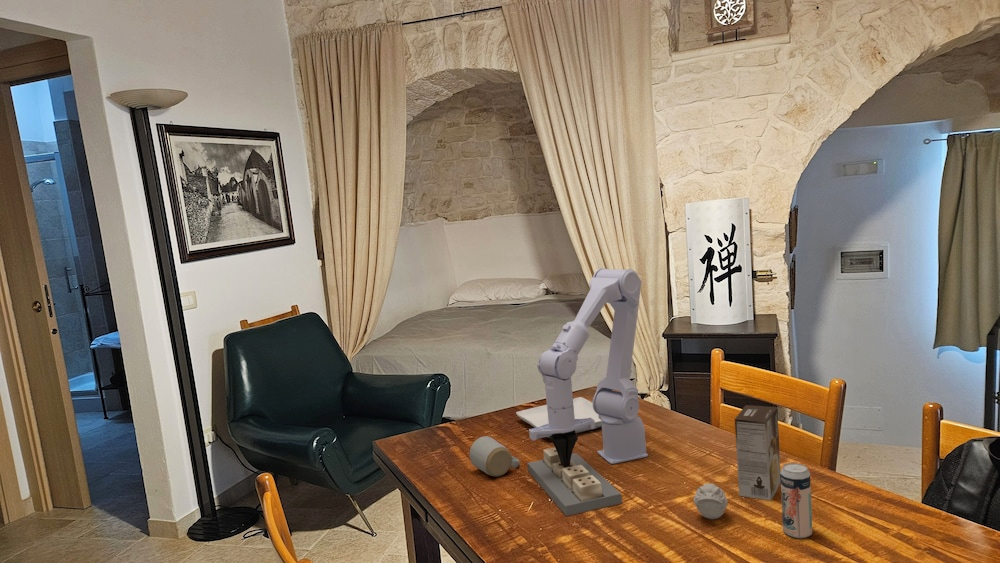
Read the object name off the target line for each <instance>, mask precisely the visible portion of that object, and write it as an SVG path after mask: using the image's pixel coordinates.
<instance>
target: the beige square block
mask: <svg viewBox="0 0 1000 563" xmlns="http://www.w3.org/2000/svg"><path fill="white" fill-rule="evenodd" d="M572 480H573V492H574V495H575V496H576V497H577V498H578V500H579V501H580V502H582V501H587V500H591V499H596V498H600V497H602V487H601V483H600V482H599V481H598V480H597V479H596V478H595V477H594V476H593V475H590V476H585V477H581V478H576V479H572Z"/></svg>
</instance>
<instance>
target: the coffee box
mask: <svg viewBox="0 0 1000 563" xmlns="http://www.w3.org/2000/svg"><path fill="white" fill-rule="evenodd" d="M778 416H779V414H778V407H776V406H763V405H751V404H749V405H744V406H743V408H742V409H741V411H740V412H739V413H738V414H737V416H736V417H735V418H734V429H735V443H736V444H735V446H736V462H737V466H736V467H737V479H738V480H737V481H738V482H737V483H738V496H740V497H744V498H750V499H751V498H752V499H759V500H764V501H770V502H771V501H772V500H773V498H775V495H776V493H777V491H778V488H779V487H780V486H781V478H780V471H781V458H780V457H781V456H780V439H779V435H780V433H779V418H778Z"/></svg>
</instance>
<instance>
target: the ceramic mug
mask: <svg viewBox="0 0 1000 563" xmlns="http://www.w3.org/2000/svg"><path fill="white" fill-rule="evenodd" d="M468 455H469V460H470V462H471V464H472V465H473V467H475V468H476V469H477V470H478V469H479V470H480V471H482V472H483V473H484V474H486V475H488V476H490V477H495V478H496V477H501V476H504V475H505V474H506V473H508V471H509V470H510V468H518V467H519V464H520V459H519V458H517V457H515V456H513V455H512V453H511V451H510V450H509V449H508V448H507V447H506V446H505V445H504V444H501V443H500V442H499V441H497V440H496V439H494V438H492V437H491V436H487V435H483V436H481V437H478V438H477V439H475V440H474V441H473V443H472V445H471V446H470V449H469V454H468Z"/></svg>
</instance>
